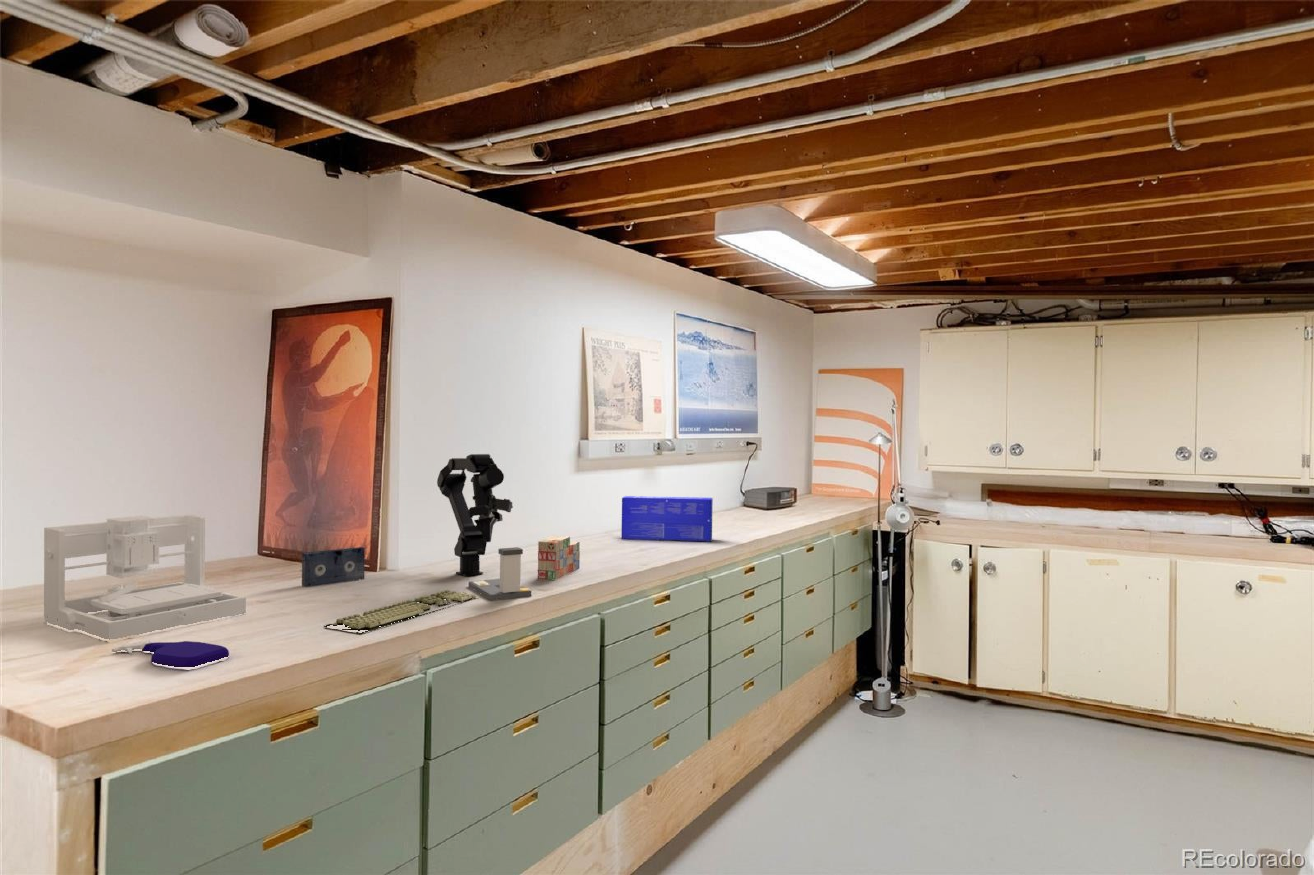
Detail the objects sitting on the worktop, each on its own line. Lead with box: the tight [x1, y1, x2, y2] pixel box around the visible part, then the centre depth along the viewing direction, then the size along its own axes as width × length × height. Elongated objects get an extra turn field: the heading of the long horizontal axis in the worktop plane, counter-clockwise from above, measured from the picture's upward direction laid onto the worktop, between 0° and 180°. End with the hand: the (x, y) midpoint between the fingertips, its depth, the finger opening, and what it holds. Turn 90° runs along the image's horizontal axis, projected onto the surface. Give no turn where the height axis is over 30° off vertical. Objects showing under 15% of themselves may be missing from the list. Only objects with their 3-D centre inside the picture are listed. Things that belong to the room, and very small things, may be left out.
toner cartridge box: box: [620, 495, 714, 542], centre depth 335 cm, size 39×8×18 cm, turn 84°
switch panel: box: [468, 578, 532, 601], centre depth 228 cm, size 20×12×2 cm, turn 31°
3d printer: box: [43, 514, 247, 640], centre depth 190 cm, size 35×32×25 cm
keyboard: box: [323, 589, 482, 635], centre depth 203 cm, size 45×15×2 cm, turn 154°
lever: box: [497, 546, 524, 593], centre depth 221 cm, size 4×6×12 cm, turn 121°
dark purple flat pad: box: [111, 639, 230, 667], centre depth 161 cm, size 3×11×24 cm
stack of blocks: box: [537, 535, 581, 580], centre depth 257 cm, size 21×6×12 cm, turn 165°
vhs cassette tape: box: [301, 546, 366, 588], centre depth 236 cm, size 18×3×10 cm, turn 134°
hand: (488, 542), depth 240 cm, fingers closed
